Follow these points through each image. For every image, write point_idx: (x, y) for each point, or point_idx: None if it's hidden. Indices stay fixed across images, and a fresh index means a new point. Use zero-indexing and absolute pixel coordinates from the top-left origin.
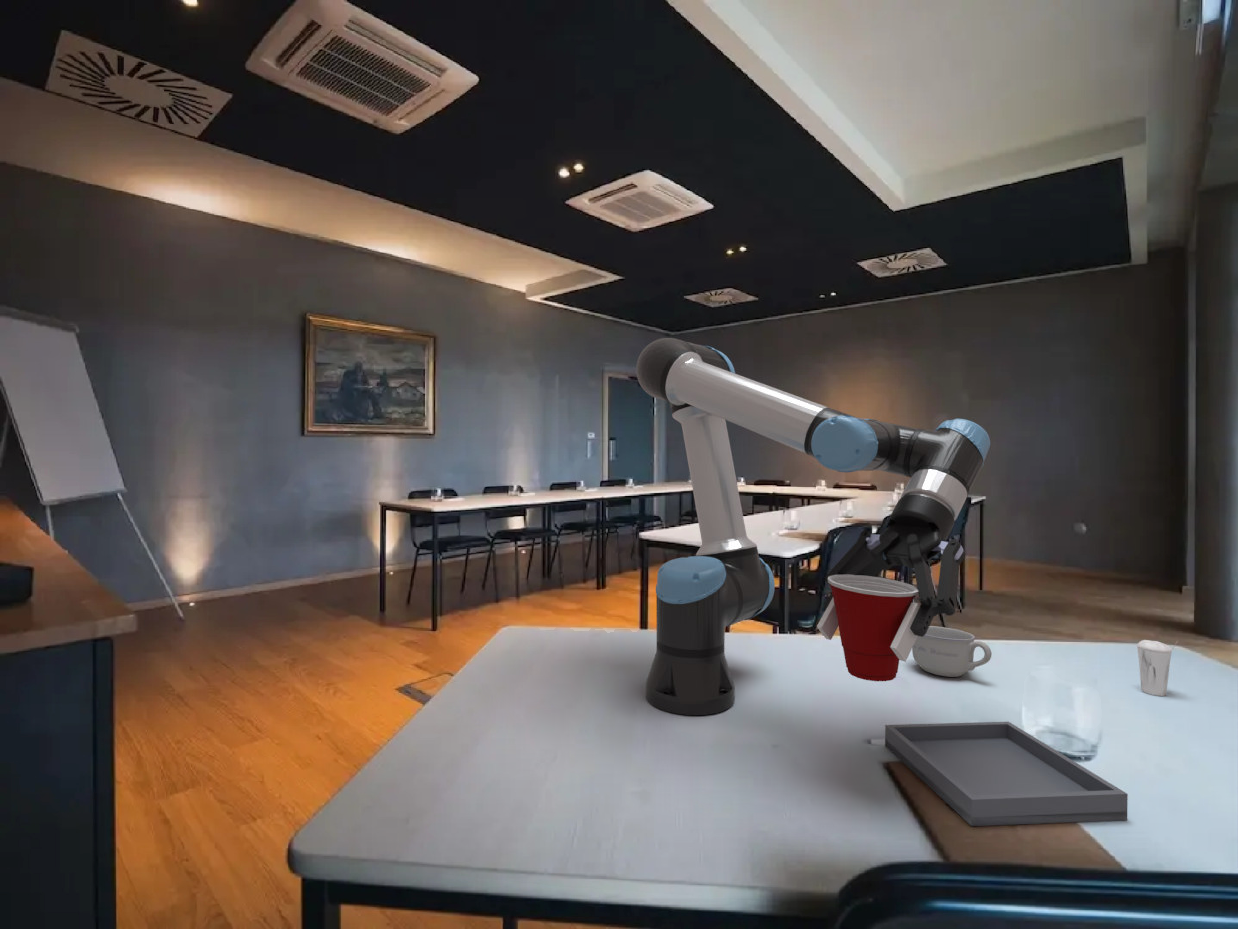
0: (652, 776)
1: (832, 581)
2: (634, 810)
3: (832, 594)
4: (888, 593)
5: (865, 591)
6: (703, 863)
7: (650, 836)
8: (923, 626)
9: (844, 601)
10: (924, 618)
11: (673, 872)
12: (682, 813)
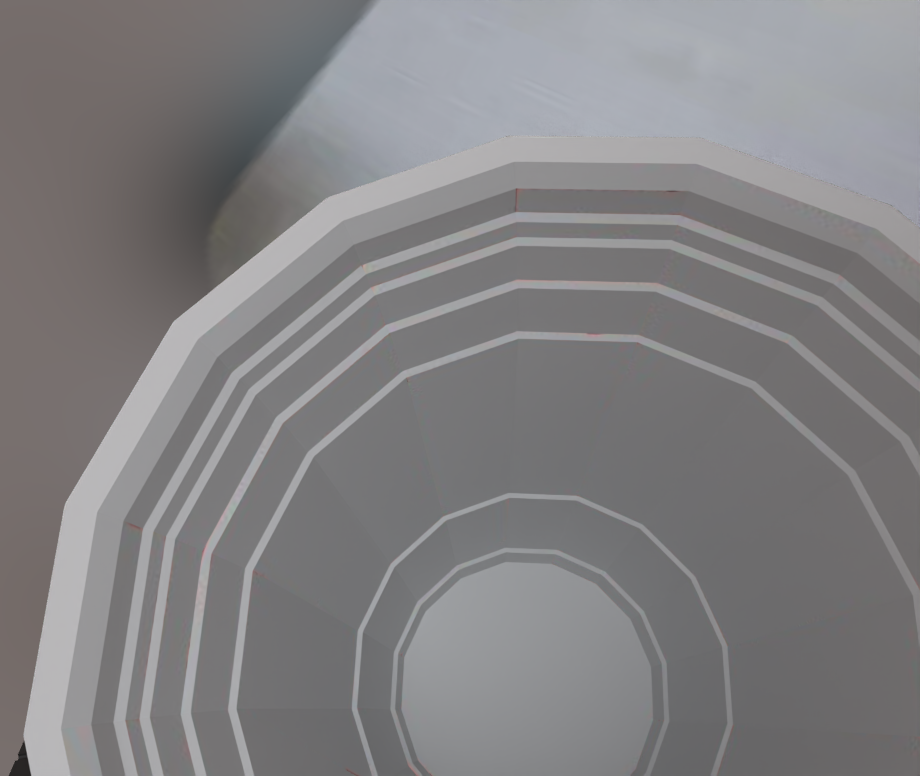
0: (748, 117)
1: (753, 168)
2: (615, 27)
3: (794, 325)
4: (133, 393)
5: (302, 224)
6: (387, 72)
7: (511, 21)
8: None
9: (568, 286)
10: (13, 769)
11: (390, 15)
12: (563, 110)
